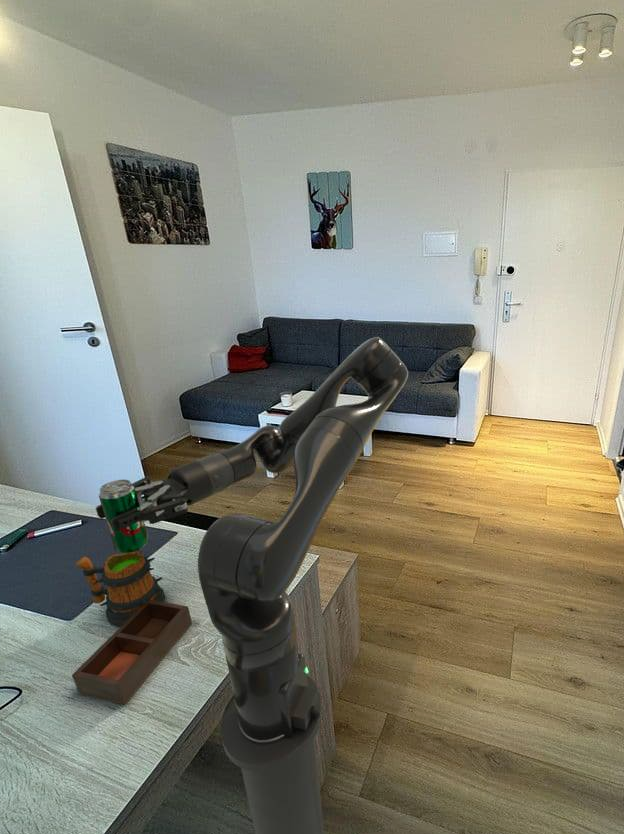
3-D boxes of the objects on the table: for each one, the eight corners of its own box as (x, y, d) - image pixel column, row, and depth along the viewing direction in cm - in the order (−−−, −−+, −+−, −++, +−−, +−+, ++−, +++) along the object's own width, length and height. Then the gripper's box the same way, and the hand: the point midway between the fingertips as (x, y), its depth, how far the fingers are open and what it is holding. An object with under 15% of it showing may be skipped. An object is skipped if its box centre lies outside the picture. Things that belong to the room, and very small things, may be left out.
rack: (192, 623, 78) (188, 606, 76) (125, 704, 64) (118, 685, 62) (153, 616, 79) (148, 599, 78) (79, 694, 65) (71, 675, 64)
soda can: (119, 539, 77) (102, 480, 72) (151, 534, 78) (136, 476, 73) (111, 557, 72) (92, 496, 68) (145, 551, 74) (129, 491, 69)
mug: (176, 585, 86) (164, 537, 81) (152, 627, 76) (137, 575, 72) (107, 588, 85) (92, 540, 81) (75, 630, 75) (55, 578, 71)
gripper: (227, 507, 81) (130, 555, 68) (186, 483, 88) (93, 522, 76) (221, 471, 78) (118, 514, 65) (179, 450, 86) (81, 485, 73)
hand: (105, 518), depth 70 cm, fingers closed on soda can, 5 cm apart
